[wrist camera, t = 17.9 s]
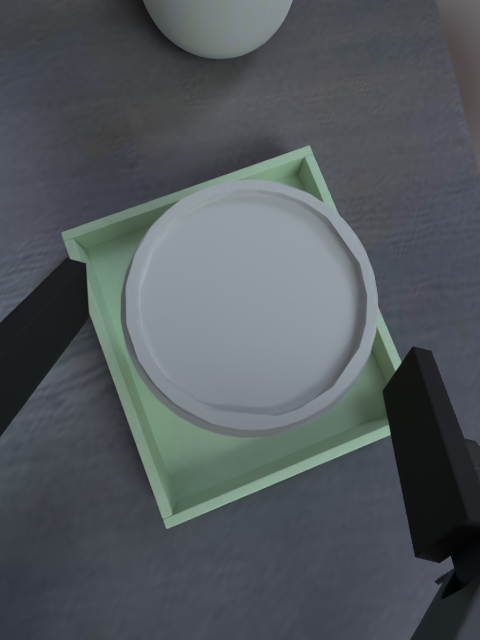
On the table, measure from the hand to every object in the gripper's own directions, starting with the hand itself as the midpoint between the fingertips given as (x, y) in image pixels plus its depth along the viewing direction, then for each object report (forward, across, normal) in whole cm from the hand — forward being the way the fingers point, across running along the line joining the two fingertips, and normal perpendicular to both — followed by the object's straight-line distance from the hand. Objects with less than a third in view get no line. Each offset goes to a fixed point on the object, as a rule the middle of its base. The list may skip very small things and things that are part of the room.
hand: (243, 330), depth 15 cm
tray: (+8, 0, -6) cm, 10 cm away
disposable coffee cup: (+7, 0, -6) cm, 10 cm away
